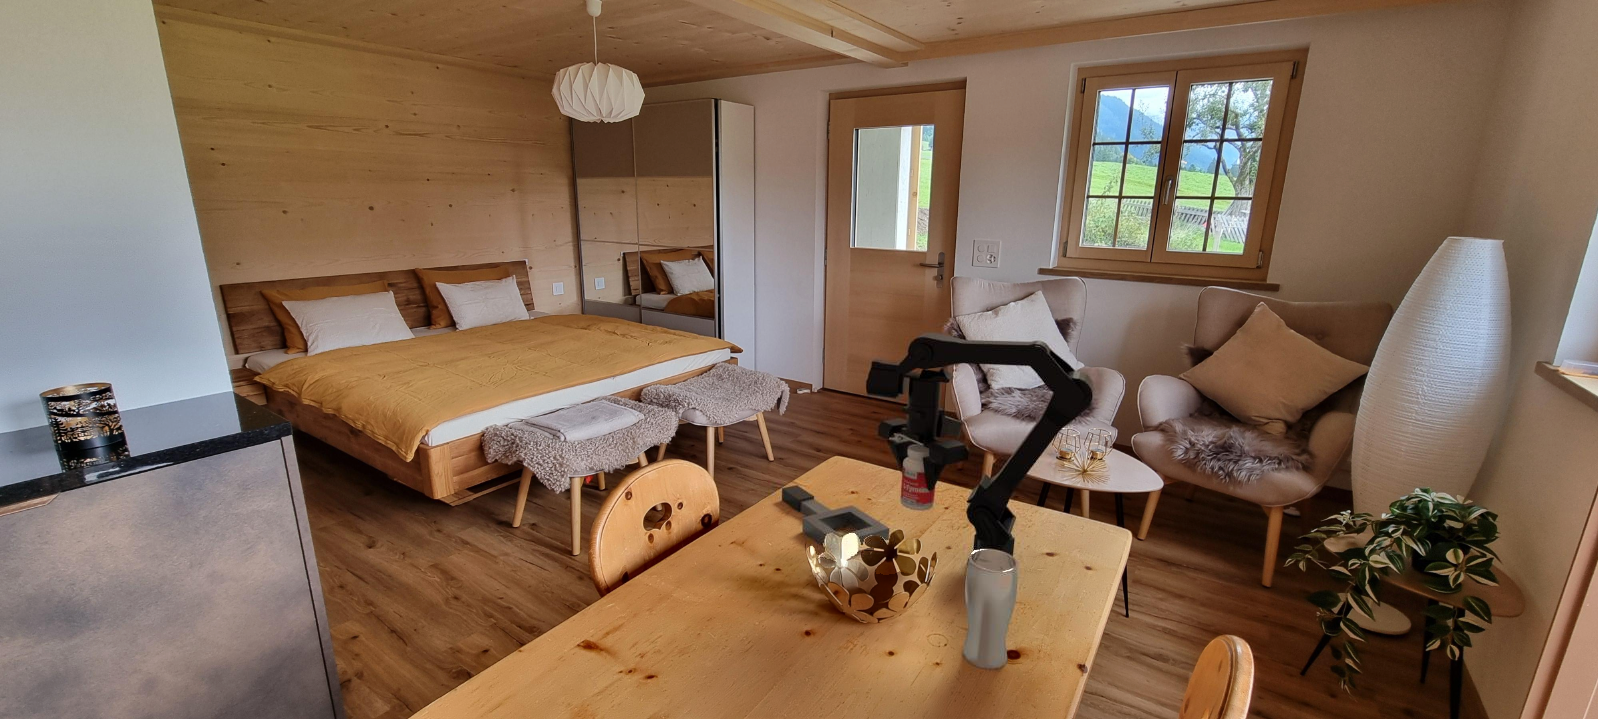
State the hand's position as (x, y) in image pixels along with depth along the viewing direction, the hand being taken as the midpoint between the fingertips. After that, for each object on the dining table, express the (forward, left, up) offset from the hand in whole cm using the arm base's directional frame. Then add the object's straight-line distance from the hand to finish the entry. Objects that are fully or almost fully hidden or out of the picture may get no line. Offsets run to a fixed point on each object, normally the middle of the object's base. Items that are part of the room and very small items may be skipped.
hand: (918, 484), depth 128 cm
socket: (+17, +9, -13) cm, 23 cm away
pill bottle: (0, 0, -4) cm, 4 cm away
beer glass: (-30, +13, -13) cm, 35 cm away
